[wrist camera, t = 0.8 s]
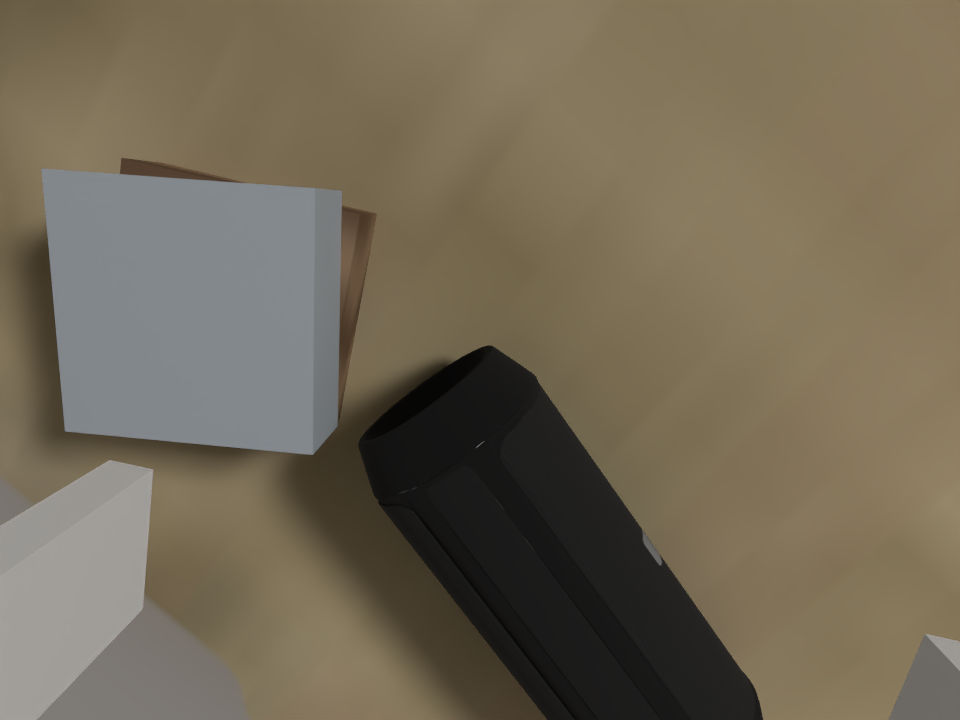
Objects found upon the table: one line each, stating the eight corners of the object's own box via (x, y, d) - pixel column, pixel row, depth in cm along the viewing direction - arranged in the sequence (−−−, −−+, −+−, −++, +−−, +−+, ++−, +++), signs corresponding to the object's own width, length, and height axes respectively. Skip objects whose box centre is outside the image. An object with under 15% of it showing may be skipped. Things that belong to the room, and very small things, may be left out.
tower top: (102, 173, 31) (41, 168, 27) (342, 190, 31) (315, 188, 27) (117, 406, 34) (65, 431, 30) (337, 426, 33) (312, 454, 30)
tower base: (166, 163, 35) (121, 157, 31) (378, 213, 35) (360, 214, 31) (145, 369, 38) (102, 387, 34) (341, 416, 38) (320, 440, 34)
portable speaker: (746, 657, 39) (819, 805, 29) (609, 727, 41) (634, 889, 31) (510, 319, 35) (503, 362, 26) (370, 414, 37) (315, 488, 27)
